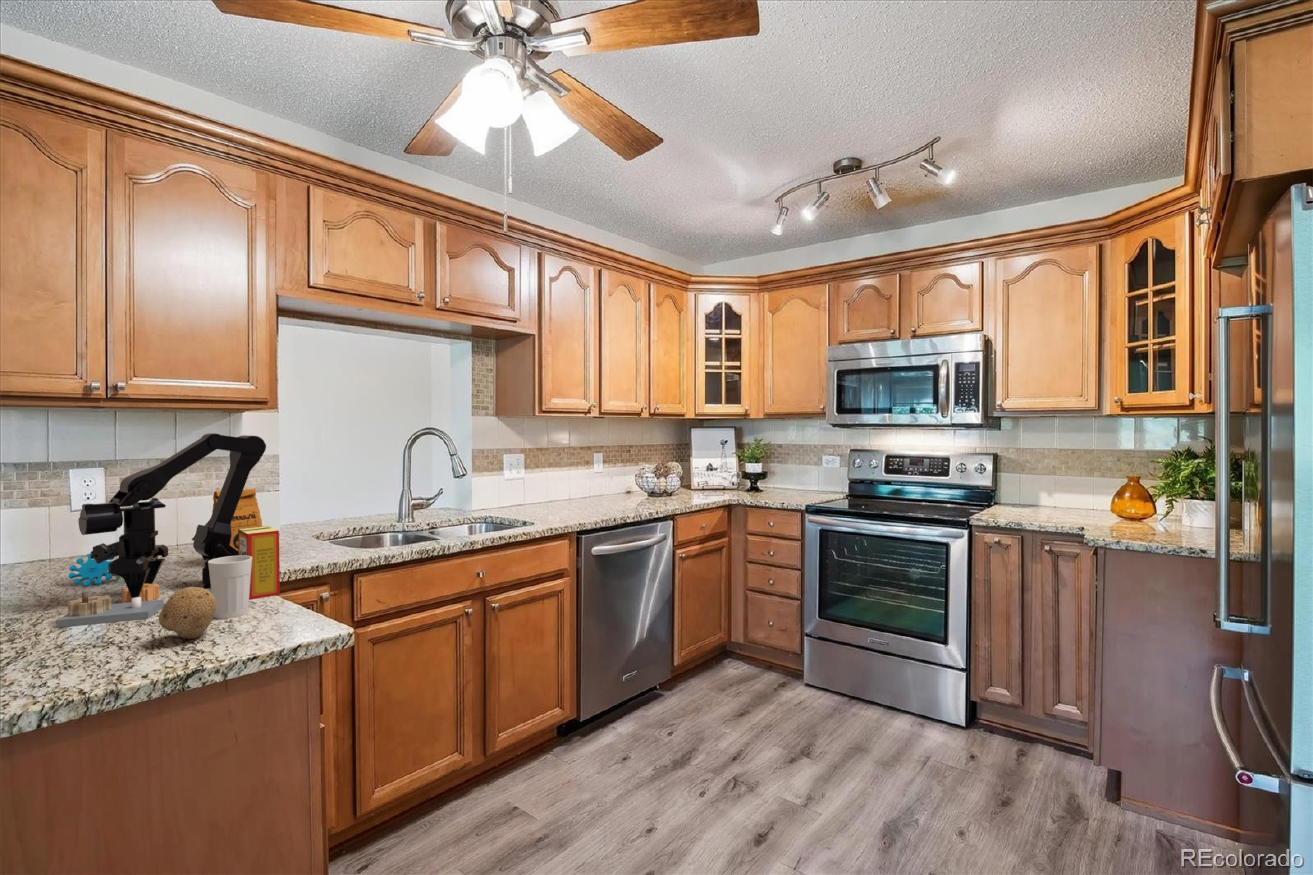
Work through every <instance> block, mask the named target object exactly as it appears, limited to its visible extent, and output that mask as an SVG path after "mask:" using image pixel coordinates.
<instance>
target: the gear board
mask: <svg viewBox="0 0 1313 875" xmlns="http://www.w3.org/2000/svg"><path fill="white" fill-rule="evenodd" d="M164 605H165V600H164V599H154V600H151V601H141V597H135V598H132V602H128V603H123V602H118V603H111V609H110V610H106V611H103V612H102V613H99V614H90V615H86V616H78V615H77V616H69V615H68V613H66V615H64V616H62V617H61V618H59V619H57V621H56V622H57V628H67V627H77V626H78V625H79V626H86V625H87V624H88V625H98V624H97V623H99V624H109V623H118V622H128V621H137V620H148V618H149V619H150V618H151V617H152V616H153V615H155V614H156V613H157V612H158V611H159V610H160V609H161V610H162V609H163V607H164ZM79 626H78V627H79Z"/></svg>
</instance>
